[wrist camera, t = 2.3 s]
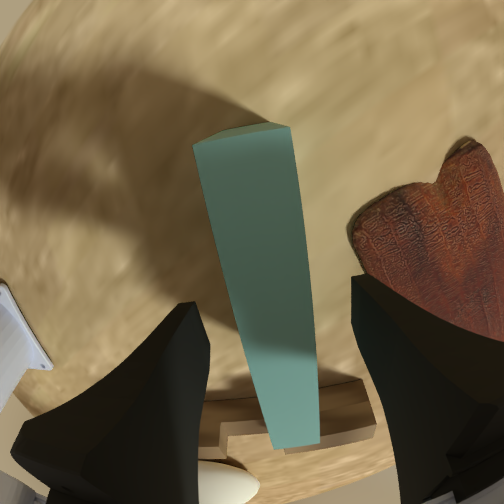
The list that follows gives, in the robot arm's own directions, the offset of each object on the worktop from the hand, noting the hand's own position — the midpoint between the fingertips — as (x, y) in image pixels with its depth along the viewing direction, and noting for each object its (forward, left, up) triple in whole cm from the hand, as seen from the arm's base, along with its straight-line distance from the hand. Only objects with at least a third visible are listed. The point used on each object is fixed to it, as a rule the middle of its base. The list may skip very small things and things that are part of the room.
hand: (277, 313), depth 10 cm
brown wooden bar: (-3, -12, -5) cm, 13 cm away
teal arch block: (0, 0, -5) cm, 5 cm away
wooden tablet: (+14, -9, -6) cm, 18 cm away
